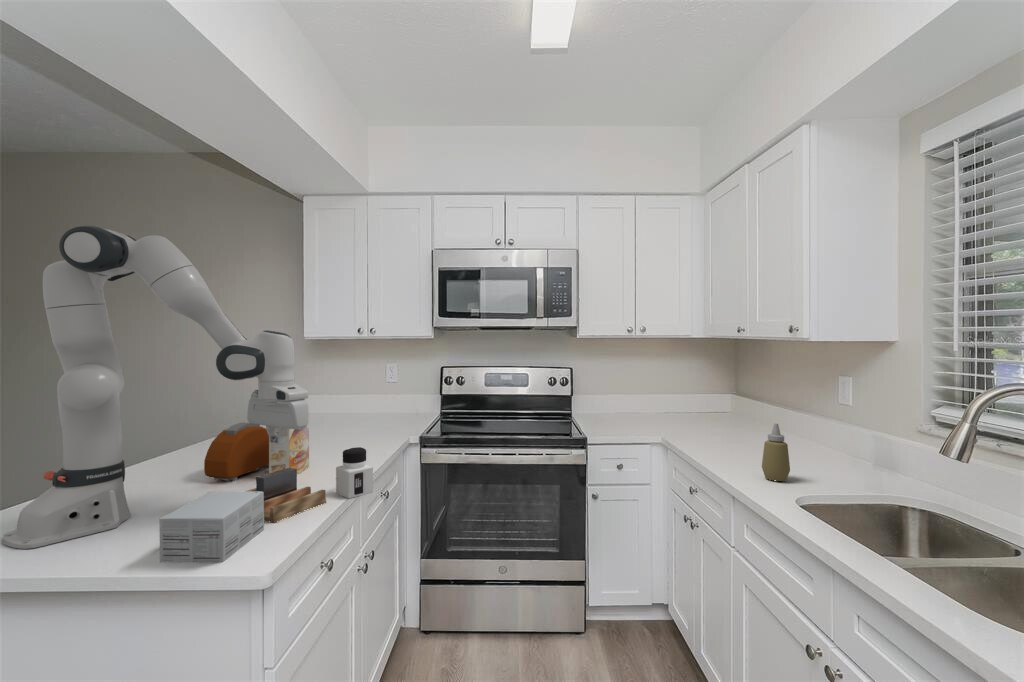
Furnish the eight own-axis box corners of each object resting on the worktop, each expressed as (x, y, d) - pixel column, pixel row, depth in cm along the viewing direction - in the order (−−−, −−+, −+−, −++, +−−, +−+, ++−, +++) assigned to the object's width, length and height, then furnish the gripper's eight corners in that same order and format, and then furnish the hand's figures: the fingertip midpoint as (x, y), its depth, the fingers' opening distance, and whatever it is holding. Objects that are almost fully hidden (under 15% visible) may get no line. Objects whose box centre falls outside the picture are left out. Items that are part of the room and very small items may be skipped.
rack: (274, 522, 119) (274, 508, 119) (225, 509, 127) (225, 496, 127) (326, 502, 133) (326, 490, 133) (279, 492, 142) (279, 480, 142)
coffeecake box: (290, 480, 154) (289, 418, 154) (267, 479, 154) (267, 418, 154) (310, 467, 169) (310, 411, 169) (289, 467, 169) (289, 411, 169)
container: (373, 492, 142) (373, 448, 142) (348, 499, 136) (348, 453, 136) (359, 487, 147) (359, 444, 147) (335, 493, 141) (335, 448, 141)
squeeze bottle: (790, 478, 157) (791, 423, 157) (789, 485, 150) (789, 427, 150) (762, 474, 161) (763, 420, 161) (760, 480, 154) (760, 424, 154)
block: (263, 509, 125) (263, 478, 125) (256, 507, 126) (256, 476, 126) (296, 497, 134) (296, 469, 134) (289, 496, 135) (289, 467, 135)
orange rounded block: (256, 463, 174) (256, 417, 174) (278, 464, 172) (278, 417, 172) (202, 482, 151) (202, 429, 151) (227, 484, 149) (227, 430, 149)
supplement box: (208, 530, 115) (208, 490, 115) (264, 530, 115) (264, 490, 115) (157, 563, 98) (157, 517, 98) (223, 563, 98) (223, 517, 98)
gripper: (240, 390, 132) (241, 441, 132) (292, 394, 122) (292, 449, 123) (262, 388, 137) (262, 436, 137) (312, 392, 128) (313, 444, 128)
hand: (277, 442), depth 130 cm, fingers closed
